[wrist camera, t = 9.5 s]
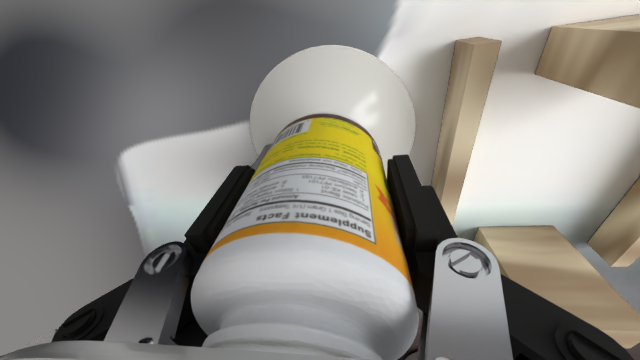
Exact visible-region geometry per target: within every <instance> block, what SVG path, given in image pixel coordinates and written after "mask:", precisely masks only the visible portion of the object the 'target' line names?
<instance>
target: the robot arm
mask: <svg viewBox="0 0 640 360" xmlns="http://www.w3.org/2000/svg"><path fill="white" fill-rule="evenodd" d="M254 174H255V170H254V169H253V168H251V167H250V166H249V165H246V166H236V167H234V169H233V170H232V171H231V173H230V174H229V175H228V177H227V178H226V180H225V181H224V182H223V184H222V185H221V186H220V188H219V189H218V190H217V192H216V193H215V194H214V196H213V197H212V198H211V200H210V201H209V203H208V204H207V205H206V207H205V208H204V209H203V211H202V212H201V213H200V215H199V216H198V217H197V219H196V220H195V221H194V223H193V224H192V226H191V227H190V228H189V230H188V231H187V232H186V234H185V235H184V236H185V237H186V240H185V242H184V243H182V242H178V241H174V242H169V243H166V244H163V245H161V246H160V247H158V248H156V249H155V250H153V251H152V252H151V253H149V254H148V255H147V256H146V258H145V259H144V260H143V262H142V263H141V265H140V266H139V268H138V271H137V273H136V275H135V277H134V278H133V279H131V280H129V281H128V282H126V283H124V284H122V285H121V286H119V287H117V288H115V289H114V290H112V291H110V292H108V293H107V294H105V295H103V296H101V297H100V298H98V299H96V300H94V301H92V302H91V303H89V304H87V305H85V306H84V307H82V308H81V309H79V310H78V311H76V312H75V313H73V314H72V315H71V316H70V317H69V318H68V319H67V320H66V321H65V322H64V323H63V324H62V325H61V326H60V327H59V329H58V330H57V329H54V330H53V331H51V332H49V333H47V334H45V335H43V336H42V337H40V338H38V339H36V340H34V341H32V342H31V343H29V344H27V345H25V346H24V347H22V348H20V349H18V350H16V351H13V352H11V353H8V354H5V355H2V356H0V360H371V359H358V358H344V357H331V356H318V355H305V354H291V353H277V352H263V351H249V350H234V349H220V348H206V347H202V345H203V343H204V341H205V340H206V338H207V337H208V335H207V334H206V333H205V332H204V331H203V329H202V328H201V327H200V325H199V324H198V322H197V321H196V319H195V316H194V314H193V311H192V306H191V290H192V286H193V282H194V279H195V277H196V275H197V273H198V271H199V269H200V267H201V265H202V263H203V261H204V259H205V258H206V256H207V254H208V253H209V251H210V249H211V248H212V246H213V244H214V242H215V241H216V239H217V237H218V235H219V234H220V232H221V230H222V229H223V227H224V225H225V224H226V222H227V220H228V218H229V217H230V215H231V213H232V211H233V210H234V208H235V206H236V205H237V203H238V201H239V200H240V198H241V196H242V194H243V193H244V191H245V189H246V188H247V186H248V184H249V182H250V180H251V179H252V177H253V175H254ZM387 183H388V187H389V191H390V195H391V198H392V204H393V207H394V211H395V216H396V220H397V224H398V228H399V232H400V237H401V241H402V245H403V249H404V253H405V257H406V261H407V265H408V269H409V274H410V278H411V282H412V286H413V290H414V294H415V299H416V304H417V307H418V308H419V309H420V310H422V318H421V326H420V335H419V344H418V352H415V353H413V354H411V355H409V356H408V357H407V358H406V359H405V360H634V359H633V358H632V357H631V355H630V354H629V353H628V352H627V351H626V350H625V349H624V348H623V347H622V346H621V345H620V344H619V343H618V342H616V341H615V340H614V339H613V338H612V337H610V336H609V335H607V334H606V333H604V332H603V331H601V330H600V329H598V328H596V327H595V326H593V325H591V324H589V323H587V322H586V321H584V320H582V319H580V318H579V317H577V316H575V315H573V314H571V313H570V312H568V311H566V310H564V309H563V308H561V307H559V306H557V305H556V304H554V303H552V302H550V301H548V300H547V299H545V298H543V297H541V296H540V295H538V294H536V293H534V292H532V291H531V290H529V289H527V288H525V287H524V286H522V285H520V284H518V283H516V282H515V281H513V280H511V279H509V278H508V277H506V276H504V275H502V274H500V269H499V265H498V263H497V260H496V259H495V257H494V256H493V255H492V253H491V252H490V251H488V250H487V249H486V248H485V247H483V246H482V245H480V244H478V243H476V242H474V241H471V240H468V239H463V238H457V235H456V233H455V231H454V229H453V227H452V225H451V223H450V221H449V219H448V217H447V215H446V213H445V211H444V209H443V207H442V204H441V202H440V200H439V198H438V196H437V194H436V192H435V190H434V188H433V187H432V186H431V185H429V186H421V184H420V182H419V179H418V177H417V175H416V172H415V170H414V168H413V165H412V163H411V160H410V158H409V156H408V154H406V155H393V158H392V159H388V162H387Z"/></svg>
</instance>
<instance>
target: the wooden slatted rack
mask: <svg viewBox="0 0 640 360" xmlns="http://www.w3.org/2000/svg"><path fill="white" fill-rule="evenodd" d="M501 42H502V41H499V40H494V39H488V38H482V37H475V38H468V39H461V40H456V43H455V49H454V55H453V61H452V67H451V73H450V78H449V84H448V90H447V96H446V102H445V107H444V113H443V119H442V125H441V131H440V137H439V142H438V148H437V154H436V160H435V166H434V172H433V177H432V183H431V186H432V187H433V188H434V190H435V192H436V194H437V196H438V198H439V200H440V202H441V204H442V207H443V209H444V211H445V213H446V215H447V217H448V219H449V221H450V223H451V225H452V224H453V220H454V216H455V213H456V209H457V205H458V201H459V198H460V194H461V190H462V187H463V183H464V179H465V175H466V172H467V168H468V164H469V161H470V157H471V153H472V150H473V146H474V142H475V138H476V135H477V131H478V127H479V124H480V120H481V116H482V113H483V109H484V105H485V101H486V98H487V94H488V90H489V87H490V83H491V79H492V75H493V72H494V68H495V64H496V61H497V57H498V53H499V50H500V46H501ZM535 74H536V75H539V76H542V77H545V78H548V79H551V80H554V81H557V82H560V83H563V84H566V85H569V86H572V87H576V88H579V89H582V90H585V91H588V92H591V93H594V94H597V95H600V96H603V97H606V98H609V99H613V100H616V101H619V102H622V103H625V104H628V105H631V106H634V107H637V108H640V14H638V15H630V16H623V17H616V18H609V19H602V20H595V21H588V22H581V23H574V24H567V25H560V26H553V27H552V29H551V32H550V34H549V37H548V40H547V42H546V45H545V48H544V51H543V53H542V56H541V59H540V62H539V64H538V67H537V70H536V72H535ZM474 242H476V243H478V244H480V245H482V246H483V247H485V248H486V249H487V250H488V251H490V252H491V253H492V255H493V256H494V257H495V259H496V260H497V263H498V265H499V269H500V274H502V275H504V276H506V277H508V278H509V279H511V280H513V281H515V282H516V283H518V284H520V285H522V286H524V287H525V288H527V289H529V290H531V291H532V292H534V293H536V294H538V295H540V296H541V297H543V298H545V299H547V300H548V301H550V302H552V303H554V304H556V305H557V306H559V307H561V308H563V309H564V310H566V311H568V312H570V313H571V314H573V315H575V316H577V317H579V318H580V319H582V320H584V321H586V322H587V323H589V324H591V325H593V326H595V327H596V328H598V329H600V330H601V331H603V332H604V333H606V334H607V335H609V336H610V337H612V338H613V339H614V340H615V341H616V342H618V343H619V344H620V345H621V346H622V347H623V348H631V347H633V346H634V345H636V344H638V343H639V342H640V315H639V314H638V313H637V312H636V311H635V310H634V309H633V308H632V307H631V306H630V305H629V304H628V303H627V302H626V301H625V300H624V299H623V298H622V297H621V296H620V295H619V294H618V293H617V291H616V290H615V289H614V288H613V287H612V286H611V285H610V284H609V283H608V282H607V281H606V280H605V279H604V278H603V277H602V276H601V275H600V274H599V273H598V272H597V271H596V270H595V269H594V268H593V267H592V266H591V264H590V263H589V262H588V261H587V260H586V259H585V258H584V257H583V256H582V255H581V254H580V253H579V252H578V251H577V250H576V249H575V248H574V247H573V246H572V245H571V244H570V243H569V242H568V241H567V240H566V239H565V238H564V236H563V235H562V234H561V233H560V232H559V231H558V230H557V229H556V228H555V227H554V226H520V227H479V228H478V230H477V233H476V236H475V239H474ZM587 244H588V245H589V246H590V247H591V248H592V249H593V250H594V251H595V252H596V253H598V254H599V255H600V256H601V257H602V258H603V259H604V260H605V261H606V262H607V263H608V264H609V265H610V266H611V267H629V266H630V265H631V264H632V263H633V262H634V261H635V260H636V259H637V258H638V257H639V256H640V178H639V179H638V180H637V181H636V183H635V184H634V185H633V186H632V188H631V189H630V190H629V191H628V193H627V194H626V195H625V196H624V198H623V199H622V200H621V201H620V203H619V204H618V205H617V206H616V208H615V209H614V210H613V211H612V213H611V214H610V215H609V216H608V218H607V219H606V220H605V221H604V223H603V224H602V225H601V226H600V228H599V229H598V230H597V231H596V233H595V234H594V235H593V236H592V238H591V239H590V240H589V241H588V243H587Z"/></svg>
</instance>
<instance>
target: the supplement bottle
mask: <svg viewBox="0 0 640 360" xmlns="http://www.w3.org/2000/svg"><path fill="white" fill-rule="evenodd" d="M191 306H192V311H193V314H194V316H195V319H196V321H197V322H198V324H199V325H200V327H201V328H202V329H203V331H204V332H205V333H206V334H207V335H208V337H207V338H206V340H205V341H204V343H203V345H202V347H206V348H220V349H234V350H249V351H263V352H277V353H291V354H305V355H318V356H331V357H344V358H358V359H371V360H397V359H399V358H400V357H401V356H403V355H404V354H405V353H406V351H407V350H408V349H409V348H410V347H411V345H412V343H413V341H414V339H415V337H416V334H417V329H418V321H419V317H418V309H417V304H416V299H415V294H414V290H413V286H412V282H411V278H410V274H409V269H408V265H407V261H406V257H405V253H404V249H403V245H402V241H401V237H400V232H399V228H398V224H397V220H396V216H395V211H394V207H393V204H392V198H391V195H390V191H389V187H388V183H387V178H386V174H385V171H384V166H383V162H382V158H381V155H380V151H379V148H378V146H377V143H376V141H375V140H374V138H373V136H372V135H371V134H370V133H369V131H368V130H367V129H366V128H365V127H363V126H362V125H361V124H360V123H358V122H357V121H355V120H353V119H351V118H349V117H347V116H344V115H341V114H336V113H330V112H318V113H312V114H307V115H304V116H301V117H299V118H297V119H295V120H293V121H292V122H290V123H289V124H288V125H287V126H285V127H284V128H283V129H282V131H281V132H280V133H279V134H278V136H277V137H276V139H275V140H274V142H273V144H272V145H271V147H270V149H269V150H268V152H267V154H266V155H265V157H264V158H263V160H262V162H261V164H260V165H259V167H258V169H257V170H256V172H255V174H254V175H253V177H252V179H251V180H250V182H249V184H248V186H247V188H246V189H245V191H244V193H243V194H242V196H241V198H240V200H239V201H238V203H237V205H236V206H235V208H234V210H233V211H232V213H231V215H230V217H229V218H228V220H227V222H226V224H225V225H224V227H223V229H222V230H221V232H220V234H219V235H218V237H217V239H216V241H215V242H214V244H213V246H212V248H211V249H210V251H209V253H208V254H207V256H206V258H205V259H204V261H203V263H202V265H201V267H200V269H199V271H198V273H197V275H196V277H195V279H194V282H193V286H192V290H191Z"/></svg>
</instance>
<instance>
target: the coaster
mask: <svg viewBox="0 0 640 360" xmlns="http://www.w3.org/2000/svg"><path fill="white" fill-rule="evenodd" d="M318 112H330V113H336V114H341V115H344V116H347V117H349V118H351V119H353V120H355V121H357V122H358V123H360V124H361V125H362V126H363V127H365V128H366V129H367V130H368V131H369V133H370V134H371V135H372V136H373V138H374V140H375V141H376V143H377V146H378V148H379V151H380V155H381V158H382V162H383V166H384V171H385V174H386V178H387V162H388V159H392V158H393V155H406V154H408V156H409V154H410V152H411V149H412V146H413V142H414V138H415V129H416V121H415V112H414V108H413V103H412V101H411V98H410V96H409V93H408V91H407V90H406V88H405V86H404V84H403V83H402V81H401V80H400V79H399V78H398V76H397V75H396V74H395V73H394V71H393V70H392V69H391V68H389V67H388V66H387V65H386V64H385V63H384V62H382V61H381V60H379V59H378V58H376V57H375V56H373V55H371V54H369V53H367V52H365V51H362V50H359V49H356V48H352V47H349V46H341V45H322V46H317V47H311V48H308V49H305V50H302V51H299V52H297V53H295V54H293V55H291V56H289V57H288V58H287V59H285V60H284V61H282V62H281V63H279V64H278V65H277V66H276V67H275V68H274V69H273V70H272V71H271V72H270V73H269V74H268V75H267V76H266V77H265V79H264V80H263V81H262V83H261V84H260V86H259V88H258V90H257V92H256V94H255V97H254V100H253V103H252V107H251V112H250V133H251V138H252V142H253V145H254V148H255V151H256V153H257V155H258V157H259V155H260V153H261V151H262V150H263V148H264V146H265V145H268V144H272V143H273V142H274V140H275V139H276V137H277V136H278V134H279V133H280V132H281V131H282V129H283V128H284V127H285V126H287V125H288V124H289V123H290V122H292V121H293V120H295V119H297V118H299V117H301V116H304V115H307V114H312V113H318Z"/></svg>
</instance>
